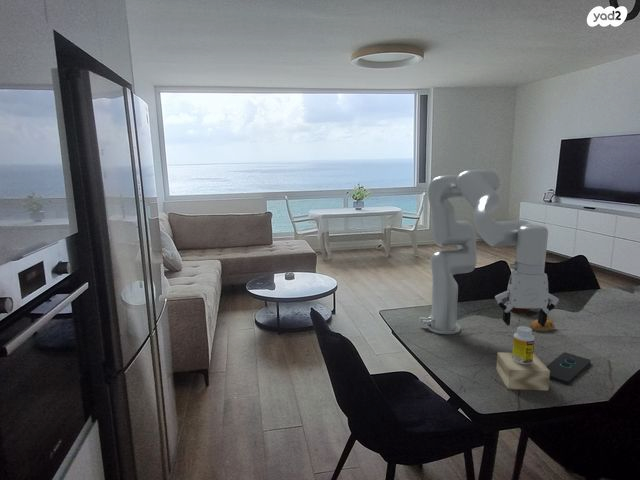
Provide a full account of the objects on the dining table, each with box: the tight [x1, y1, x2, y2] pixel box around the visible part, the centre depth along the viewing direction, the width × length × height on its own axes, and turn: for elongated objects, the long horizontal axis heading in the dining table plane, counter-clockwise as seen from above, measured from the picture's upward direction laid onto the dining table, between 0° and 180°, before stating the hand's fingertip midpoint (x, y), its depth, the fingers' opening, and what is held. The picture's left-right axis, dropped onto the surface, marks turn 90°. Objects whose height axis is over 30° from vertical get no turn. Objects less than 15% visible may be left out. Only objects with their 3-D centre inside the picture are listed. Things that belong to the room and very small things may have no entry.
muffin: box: [505, 297, 531, 315], centre depth 179 cm, size 12×11×10 cm
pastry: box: [529, 317, 556, 332], centre depth 159 cm, size 9×7×4 cm
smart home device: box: [545, 352, 592, 386], centre depth 128 cm, size 8×2×20 cm
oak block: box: [495, 351, 550, 392], centre depth 122 cm, size 11×11×6 cm
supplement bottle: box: [511, 325, 536, 365], centre depth 120 cm, size 6×6×10 cm
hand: (523, 324), depth 120 cm, fingers open, 9 cm apart
